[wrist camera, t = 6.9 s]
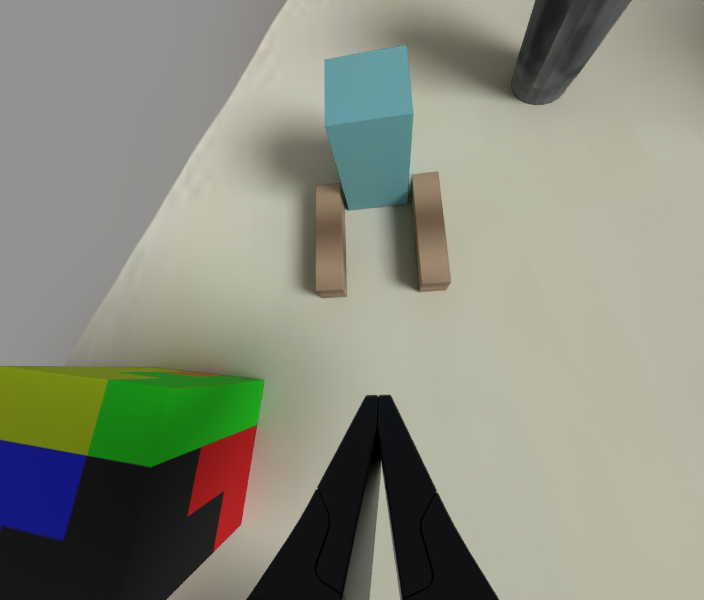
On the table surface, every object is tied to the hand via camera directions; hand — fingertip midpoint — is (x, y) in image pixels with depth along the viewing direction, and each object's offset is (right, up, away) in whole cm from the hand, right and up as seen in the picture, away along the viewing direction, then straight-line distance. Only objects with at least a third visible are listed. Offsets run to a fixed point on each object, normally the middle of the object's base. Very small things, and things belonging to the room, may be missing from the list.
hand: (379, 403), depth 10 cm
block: (+1, +14, +16) cm, 21 cm away
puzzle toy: (-13, -8, +13) cm, 20 cm away
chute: (+1, +8, +14) cm, 17 cm away
